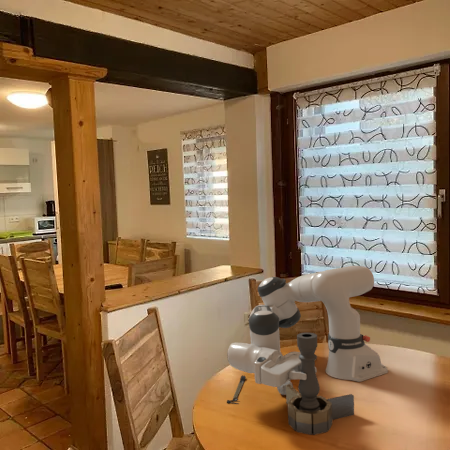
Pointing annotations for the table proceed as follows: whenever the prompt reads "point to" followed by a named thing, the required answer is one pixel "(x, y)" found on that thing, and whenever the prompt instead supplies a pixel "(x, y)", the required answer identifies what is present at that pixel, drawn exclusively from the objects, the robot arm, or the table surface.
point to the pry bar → (237, 391)
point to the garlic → (283, 388)
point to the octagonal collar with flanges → (317, 412)
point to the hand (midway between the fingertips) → (311, 373)
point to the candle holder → (308, 372)
